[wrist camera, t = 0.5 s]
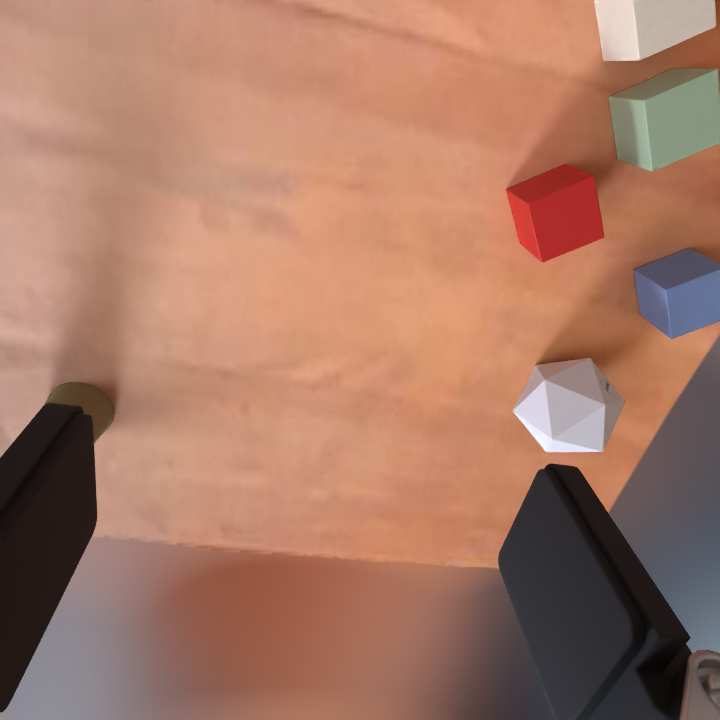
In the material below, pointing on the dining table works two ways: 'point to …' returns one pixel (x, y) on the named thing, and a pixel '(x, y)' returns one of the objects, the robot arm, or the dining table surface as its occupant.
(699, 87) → the sage block
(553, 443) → the die
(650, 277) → the blue block
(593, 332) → the dining table surface
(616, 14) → the cream block
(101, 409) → the cork
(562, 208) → the red block
